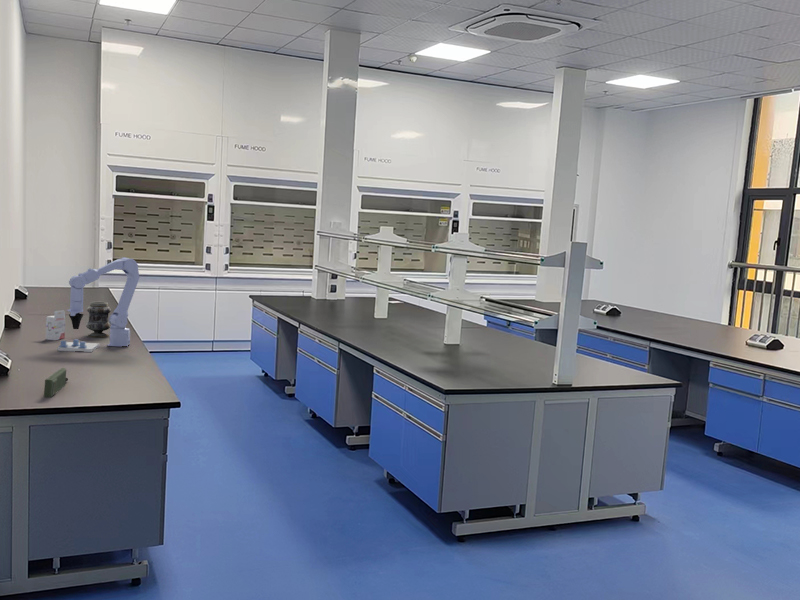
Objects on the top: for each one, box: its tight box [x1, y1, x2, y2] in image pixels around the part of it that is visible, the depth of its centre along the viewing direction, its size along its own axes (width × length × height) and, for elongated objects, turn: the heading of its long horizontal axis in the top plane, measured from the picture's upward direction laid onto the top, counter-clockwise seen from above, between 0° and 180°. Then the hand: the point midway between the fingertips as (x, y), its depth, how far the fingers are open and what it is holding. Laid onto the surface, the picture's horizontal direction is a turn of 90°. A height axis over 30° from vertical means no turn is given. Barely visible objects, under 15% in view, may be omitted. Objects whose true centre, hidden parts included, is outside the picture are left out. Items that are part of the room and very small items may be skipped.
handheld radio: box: [43, 367, 69, 398], centre depth 267 cm, size 7×3×25 cm
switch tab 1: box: [58, 339, 68, 347], centre depth 340 cm, size 3×3×3 cm
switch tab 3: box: [78, 340, 87, 348], centre depth 342 cm, size 3×3×3 cm
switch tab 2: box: [72, 338, 80, 346], centre depth 346 cm, size 3×3×3 cm
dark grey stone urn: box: [85, 301, 112, 338], centre depth 385 cm, size 12×12×18 cm
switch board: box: [57, 341, 101, 353], centre depth 347 cm, size 15×16×2 cm
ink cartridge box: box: [45, 309, 66, 341], centre depth 367 cm, size 9×5×15 cm, turn 168°
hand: (75, 328), depth 350 cm, fingers closed
